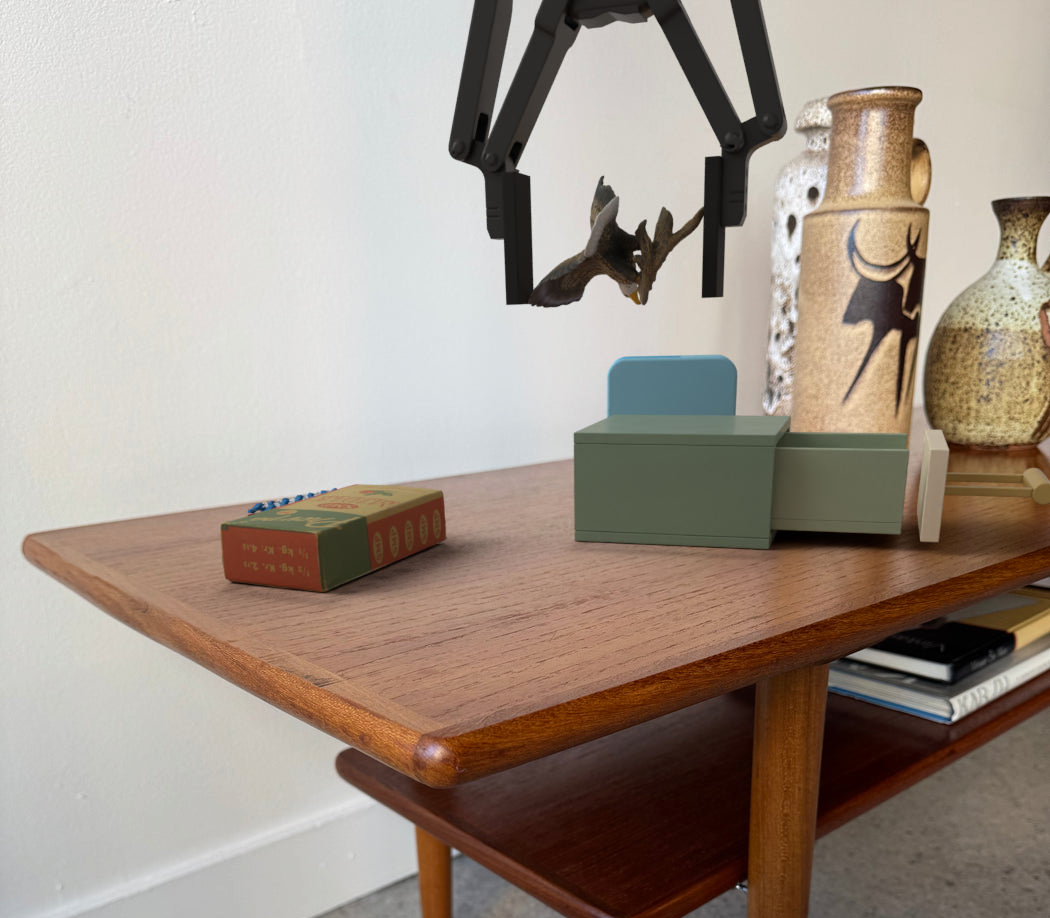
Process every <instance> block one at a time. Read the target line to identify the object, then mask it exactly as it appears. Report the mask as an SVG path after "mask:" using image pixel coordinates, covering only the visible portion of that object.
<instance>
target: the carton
mask: <svg viewBox="0 0 1050 918" xmlns="http://www.w3.org/2000/svg"><path fill="white" fill-rule="evenodd" d="M445 507H446V506H445V495H444V492H443V491H442V489H434V488H425V487H415V486H403V485H386V484H385V485H384V484H383V485H382V484H364V483H362V484H361V483H356V484H351V485H347V486H343V487H340V488H337V490H333V491H330V492H327V493H324V494H320V495H317V496H314V497H311V498H307V499H304V500H300V501H297V502H293V503H290V504H287V505H283V506H280V507H276V508H273V509H270V510H266V511H263V512H261V511H258V512H259V513H258V512H255V513H256V514H253V513H252V514H253V515H250V516H248V515H247V516H244V517H241V518H240V517H239V518H236V519H232V520H228V521H227V520H226V521H223V522H222V523H220V544H221V562H222V570H223V575H224V578H225V580H227V581H228V582H233V583H242V584H250V585H256V586H257V585H258V586H266V587H273V588H280V589H290V590H291V589H293V590H301V591H311V592H319V593H320V592H321V593H325V592H329V591H330V590H333V589H334V588H337V587H339V586H341V585H343V584H346V583H348V582H350V581H353V580H355V579H357V578H360V577H362V576H365V575H367V574H369V573H372V572H374V571H377V570H380V569H382V568H383V567H386V566H389V565H391V564H393V563H395V562H397V561H400V560H402V559H405V558H407V557H409V556H411V555H414V554H416V553H419V552H421V551H423V550H426V549H428V548H431V547H433V546H436V545H438V544H440V543H442V542H444V541H446V540H448V536H447V526H446V525H447V521H446V512H445V511H446V510H445V509H446V508H445Z"/></svg>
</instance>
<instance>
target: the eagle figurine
mask: <svg viewBox="0 0 1050 918" xmlns="http://www.w3.org/2000/svg"><path fill="white" fill-rule="evenodd" d="M604 180H605V175H604V174H603V175H601V176H600V177H599V179H598V182H597V185H596V188H595V192H594V194H593V200H592V202H591V206H590V214H589V215H590V216H589V225H590V235H589V236H588V239H587V241H586V245H585V247H584V248H583V249H582V250H581V251H580V252H578V253H577V254H575V255H573V256H571V257H569V258H566V259H565V260H563V261H562V262H560V263H559V264H558V265H556V266H555V267H554V268H553V269H551V270H550V272H548V273H547V274H546V275H545V276H544V277H543V278H542V279H541V280H540V281H539V282H538V284H537V285H536V286H535V287H534V290H533V291H532V293H531V295H530V297H529V301H528V302H529V303H528V304H527V305H530V306H531V307H536V308H540V307H543V309H550V308H559V307H561V306H569V305H571V304H572V303H578V302H580V301H581V299H582V298H583V297H584V294H585V290H586V287H587V286H588V284H589V283H590V282H591V281H592V279H594V278H595V277H597V276H602V275H603V276H608V277H609V279H611V280H612V281H614V282H616V283H617V284H618V288H619V290H620V292H621V293H622V295H623V296H624V297H625V298H628V299H630V300H631V301H632V302H633V303H634V304H635V305H636V306H640V305H641V306H646V304H648V301H649V293H650V291H652V290H653V284H654V283H655V282H656V281H657V275H658V271H660V269H662V266H663V264H664V263H665V262H666V261H667V257H668V256H669V254H670V253H671V252H673V250H674V249H675V248H676V247H677V246H678V244H680V243H681V242H683V240H684V239H686V238H687V237H689V236H690V235H691V234H692V233H694V231H695V230H697V228H698V227H699V226H700V224H701V222H702V220H703V218H704V205H703V206H702V207H701V208H699V209H698V211H697V212H696V213H695V214H693V217H692V218H690V219H689V220H688V221H686V222H685V223H684V225H682V226H681V228H680V229H678V230H677V231H676V232H673V231H674V217H673V214H672V212H671V211H670V210H668V209H667V208H666V207H665V206H662V207H661V209H660V212H659V215H658V218H657V222H656V224H655V228H654V234H653V239H651V237H650V236H649V233H648V231H647V227H646V226H647V224H648V223H647V222H648V220H647V219H643V220H642V221H640V222H639V224H638V225H637V229H636V230H634V234H631V233H629V232H627V231H626V230H624V229H623V228H621V227H620V226H619V223H618V221H617V217H618V214H619V207H620V196H619V195H616V193H615V190H613V188H612V186H611V185H610V184H607V185H604ZM637 251H638V252H640V254H638V253H637V254H634V252H637ZM637 267H638V268H639V271H638V270H637Z"/></svg>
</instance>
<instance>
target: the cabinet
mask: <svg viewBox="0 0 1050 918" xmlns="http://www.w3.org/2000/svg"><path fill="white" fill-rule="evenodd" d="M791 422H792V415H738V414H737V415H612V416H610V417H608V418H607V417H606V418H604V419H602V420H599V421H597V422H594V423H592V424H590V425H588V426H585V427H583V428H581V429H578V430H576V431H575V432H573V522H574V524H573V525H574V527H573V529H574V541H575V542H589V543H590V542H593V543H613V544H614V543H615V544H637V545H660V546H679V547H681V546H682V547H702V548H704V547H705V548H706V547H707V548H724V549H725V548H726V549H727V548H729V549H746V550H747V549H751V550H769V549H770V547H771V546H772V543H773V541H774V539H775V537H776V535H777V533H778V532H779V530H771V523H772V506H773V489H774V473H775V456H776V446H775V445H776V444H777V443H778V441H779V440H780V439H781V437H782V436H783V435H784V433H785V432H791V424H792V423H791Z"/></svg>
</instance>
